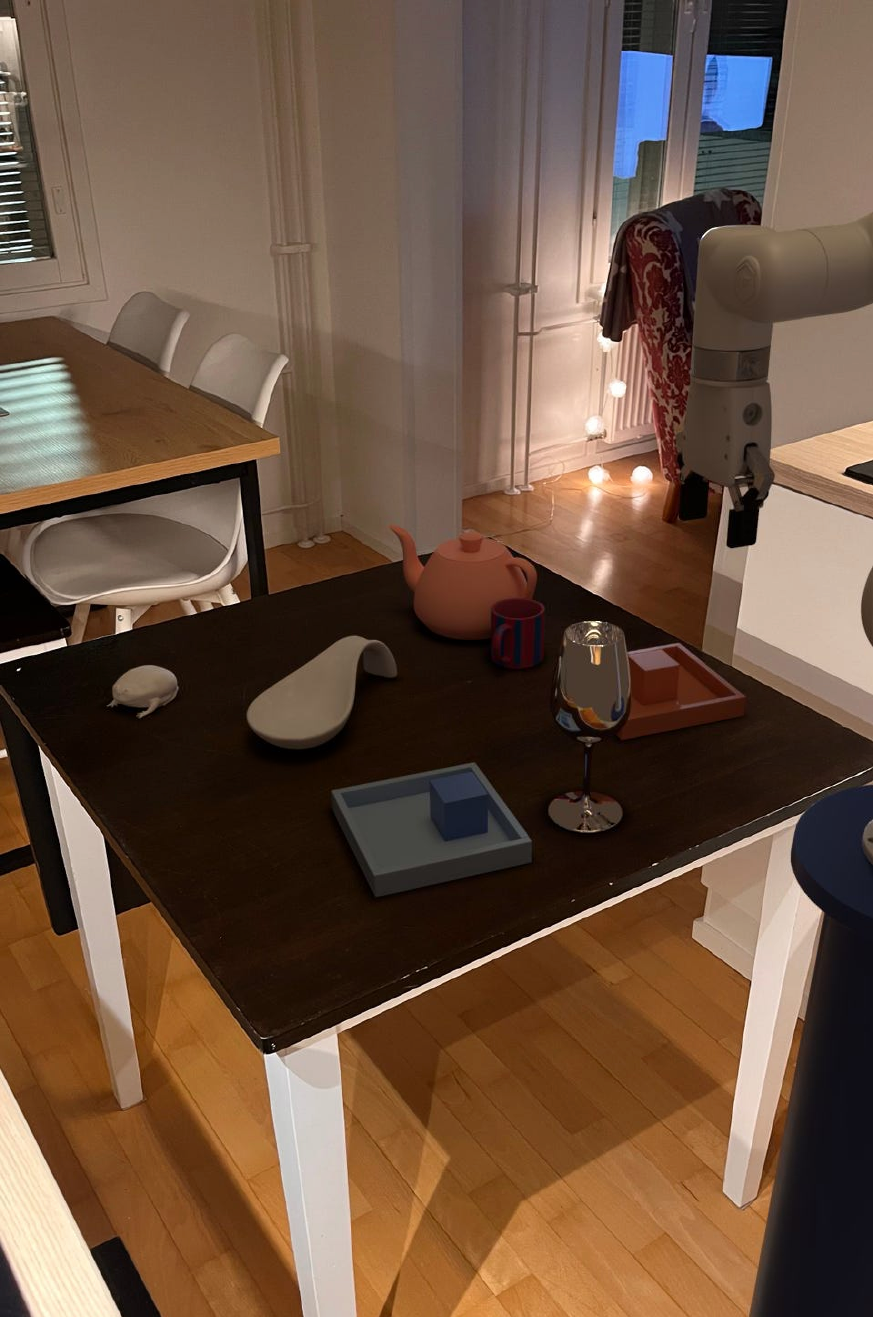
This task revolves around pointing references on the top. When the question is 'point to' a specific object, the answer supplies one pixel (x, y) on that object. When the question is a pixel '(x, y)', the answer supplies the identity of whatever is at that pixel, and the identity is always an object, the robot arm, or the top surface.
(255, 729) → the spoon rest
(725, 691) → the terracotta tray
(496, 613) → the mug
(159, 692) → the frog figurine
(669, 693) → the terracotta block
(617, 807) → the wineglass
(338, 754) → the top surface
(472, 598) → the teapot
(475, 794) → the blue block
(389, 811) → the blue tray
